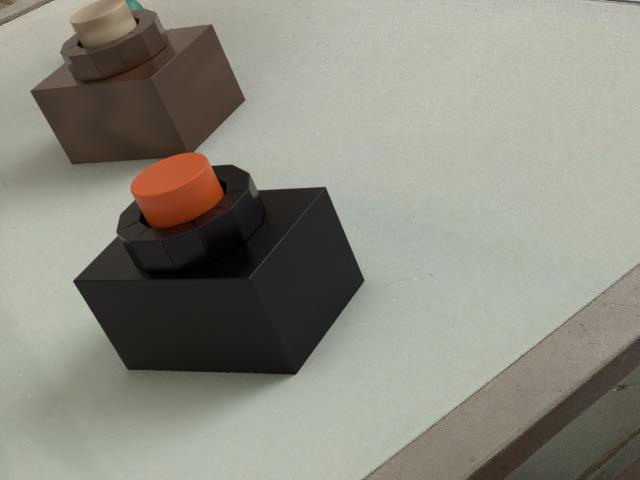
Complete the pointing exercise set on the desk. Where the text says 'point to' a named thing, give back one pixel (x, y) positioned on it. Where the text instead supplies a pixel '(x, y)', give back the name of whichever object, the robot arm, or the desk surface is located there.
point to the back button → (102, 22)
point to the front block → (225, 282)
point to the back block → (139, 93)
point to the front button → (176, 190)
